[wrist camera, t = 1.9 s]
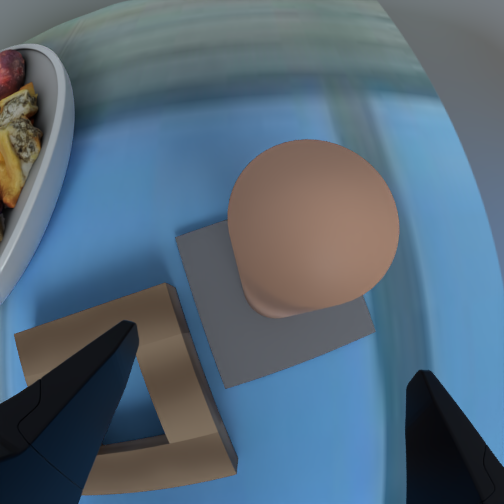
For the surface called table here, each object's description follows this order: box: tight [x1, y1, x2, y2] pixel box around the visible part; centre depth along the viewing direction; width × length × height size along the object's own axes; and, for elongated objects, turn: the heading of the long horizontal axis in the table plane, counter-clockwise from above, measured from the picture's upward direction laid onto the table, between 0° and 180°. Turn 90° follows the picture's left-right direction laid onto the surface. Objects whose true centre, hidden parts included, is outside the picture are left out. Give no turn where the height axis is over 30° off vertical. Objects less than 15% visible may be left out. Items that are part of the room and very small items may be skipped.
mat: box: [175, 219, 376, 389], centre depth 20 cm, size 10×10×1 cm
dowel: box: [228, 139, 399, 318], centre depth 13 cm, size 4×4×13 cm
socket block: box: [14, 283, 238, 495], centre depth 17 cm, size 12×12×2 cm
